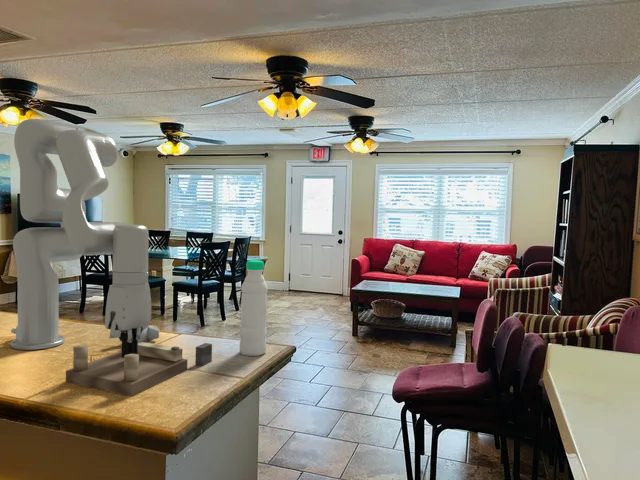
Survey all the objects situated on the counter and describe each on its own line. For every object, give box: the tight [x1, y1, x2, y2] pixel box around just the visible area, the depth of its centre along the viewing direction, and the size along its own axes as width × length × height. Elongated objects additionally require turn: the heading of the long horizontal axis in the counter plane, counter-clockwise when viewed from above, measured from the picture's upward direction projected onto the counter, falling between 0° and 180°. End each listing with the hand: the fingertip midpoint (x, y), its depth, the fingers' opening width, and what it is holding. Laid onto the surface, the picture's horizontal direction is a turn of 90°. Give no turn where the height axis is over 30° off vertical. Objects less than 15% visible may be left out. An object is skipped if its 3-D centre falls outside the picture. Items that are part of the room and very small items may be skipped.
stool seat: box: [65, 332, 213, 397], centre depth 110 cm, size 19×26×8 cm
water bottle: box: [239, 259, 268, 357], centre depth 126 cm, size 7×7×25 cm
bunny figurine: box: [108, 324, 161, 343], centre depth 133 cm, size 10×5×15 cm
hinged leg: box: [138, 342, 183, 361], centre depth 112 cm, size 12×2×3 cm, turn 69°
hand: (129, 357), depth 109 cm, fingers closed
